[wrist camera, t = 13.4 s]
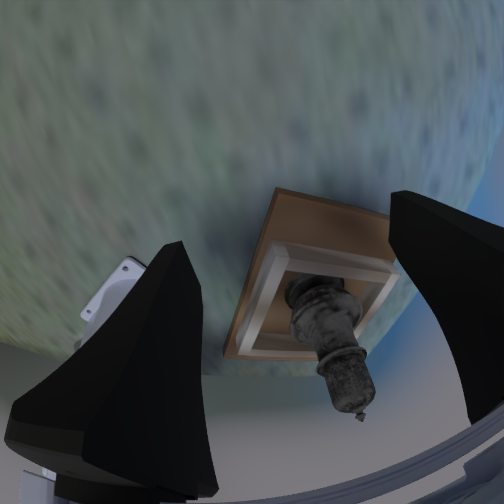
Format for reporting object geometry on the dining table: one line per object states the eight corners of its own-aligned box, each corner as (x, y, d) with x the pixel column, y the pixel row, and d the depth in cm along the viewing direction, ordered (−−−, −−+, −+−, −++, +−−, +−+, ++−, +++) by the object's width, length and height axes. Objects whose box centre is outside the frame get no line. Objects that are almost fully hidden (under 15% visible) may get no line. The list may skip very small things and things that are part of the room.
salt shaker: (271, 279, 23) (306, 425, 13) (341, 252, 22) (411, 385, 12) (291, 322, 26) (323, 445, 16) (351, 299, 25) (402, 415, 16)
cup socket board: (325, 354, 32) (332, 375, 30) (222, 350, 29) (224, 374, 27) (406, 221, 22) (425, 240, 20) (275, 187, 19) (285, 207, 17)
